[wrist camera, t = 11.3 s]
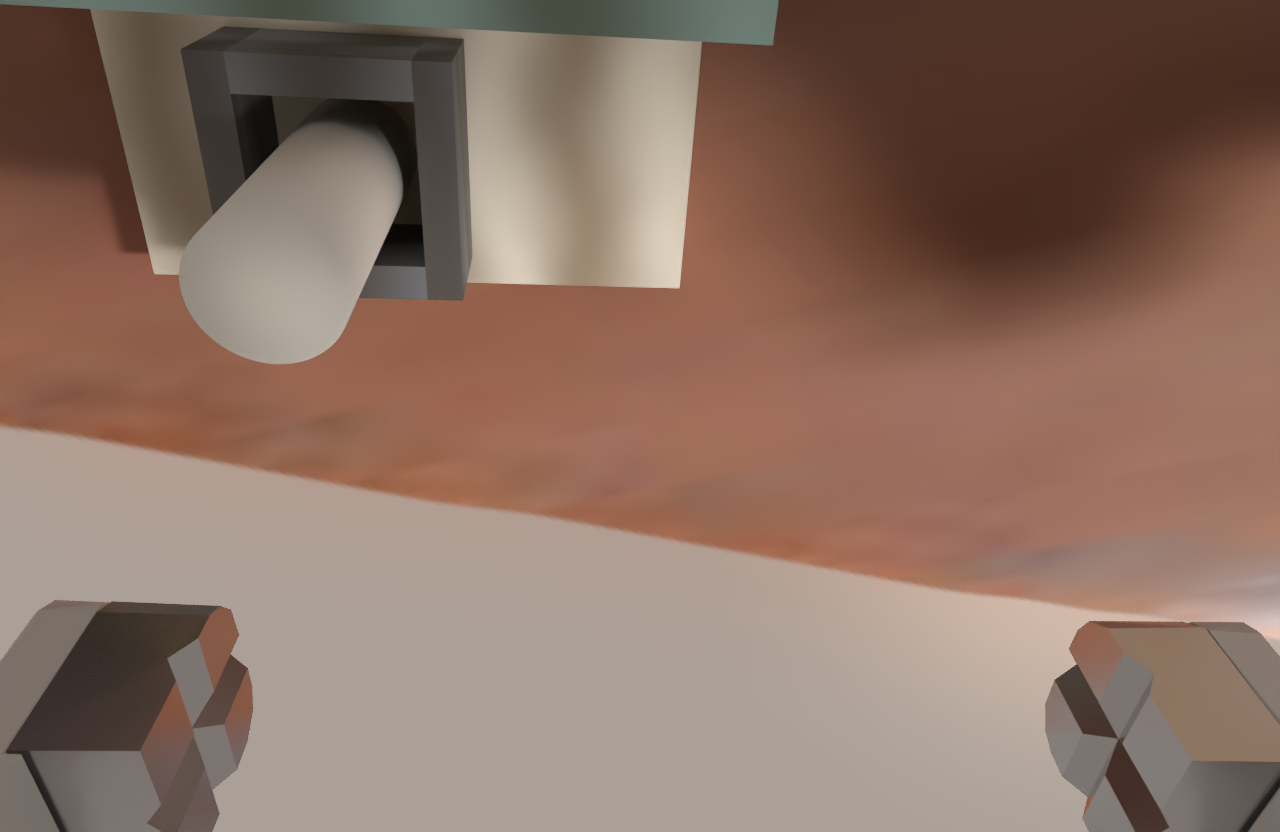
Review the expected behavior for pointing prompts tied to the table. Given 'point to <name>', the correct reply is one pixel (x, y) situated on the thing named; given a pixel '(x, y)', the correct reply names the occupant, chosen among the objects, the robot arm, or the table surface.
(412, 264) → the canopy socket
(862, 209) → the table surface
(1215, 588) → the table surface
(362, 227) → the peg
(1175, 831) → the robot arm
